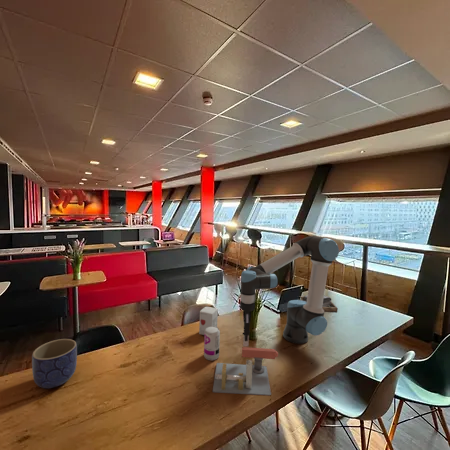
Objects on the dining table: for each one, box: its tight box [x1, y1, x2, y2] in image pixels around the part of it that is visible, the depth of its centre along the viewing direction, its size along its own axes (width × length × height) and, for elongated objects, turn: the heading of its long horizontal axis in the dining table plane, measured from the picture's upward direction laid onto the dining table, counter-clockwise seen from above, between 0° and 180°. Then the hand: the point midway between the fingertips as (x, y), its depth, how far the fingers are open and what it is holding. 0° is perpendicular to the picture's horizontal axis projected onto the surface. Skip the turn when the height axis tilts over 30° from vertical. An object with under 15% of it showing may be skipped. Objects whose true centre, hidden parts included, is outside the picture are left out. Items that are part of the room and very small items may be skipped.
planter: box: [31, 338, 78, 389], centre depth 111 cm, size 17×17×15 cm
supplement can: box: [203, 326, 221, 361], centre depth 132 cm, size 8×8×15 cm
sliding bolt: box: [213, 359, 253, 389], centre depth 109 cm, size 16×3×11 cm, turn 87°
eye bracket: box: [222, 363, 243, 390], centre depth 110 cm, size 9×6×8 cm, turn 86°
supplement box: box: [198, 306, 219, 336], centre depth 157 cm, size 9×9×15 cm
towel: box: [303, 294, 332, 307], centre depth 207 cm, size 15×18×8 cm
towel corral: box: [300, 296, 338, 313], centre depth 207 cm, size 25×22×3 cm
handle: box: [241, 346, 279, 361], centre depth 120 cm, size 18×5×4 cm, turn 86°
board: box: [212, 359, 272, 396], centre depth 115 cm, size 25×19×7 cm
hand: (245, 345), depth 128 cm, fingers closed
